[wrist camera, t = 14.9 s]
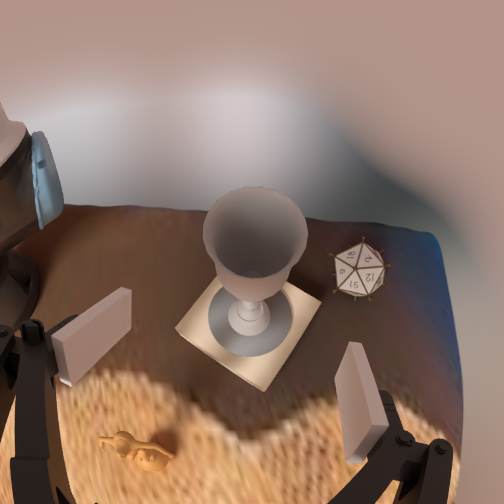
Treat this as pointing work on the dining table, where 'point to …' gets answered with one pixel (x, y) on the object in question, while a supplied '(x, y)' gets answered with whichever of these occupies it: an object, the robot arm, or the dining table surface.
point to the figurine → (138, 451)
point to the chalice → (254, 250)
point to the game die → (359, 270)
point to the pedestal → (248, 347)
